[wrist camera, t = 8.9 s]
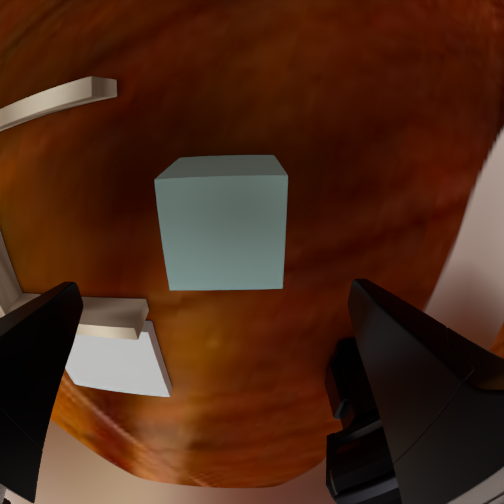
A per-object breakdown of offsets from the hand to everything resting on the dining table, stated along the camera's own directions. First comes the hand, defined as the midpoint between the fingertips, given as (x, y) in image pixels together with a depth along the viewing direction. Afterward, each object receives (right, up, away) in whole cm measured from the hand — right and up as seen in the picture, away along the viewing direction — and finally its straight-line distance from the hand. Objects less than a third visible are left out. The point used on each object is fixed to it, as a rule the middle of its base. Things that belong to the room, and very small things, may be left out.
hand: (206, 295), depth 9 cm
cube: (0, +4, +7) cm, 9 cm away
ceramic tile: (-11, -7, +13) cm, 18 cm away
